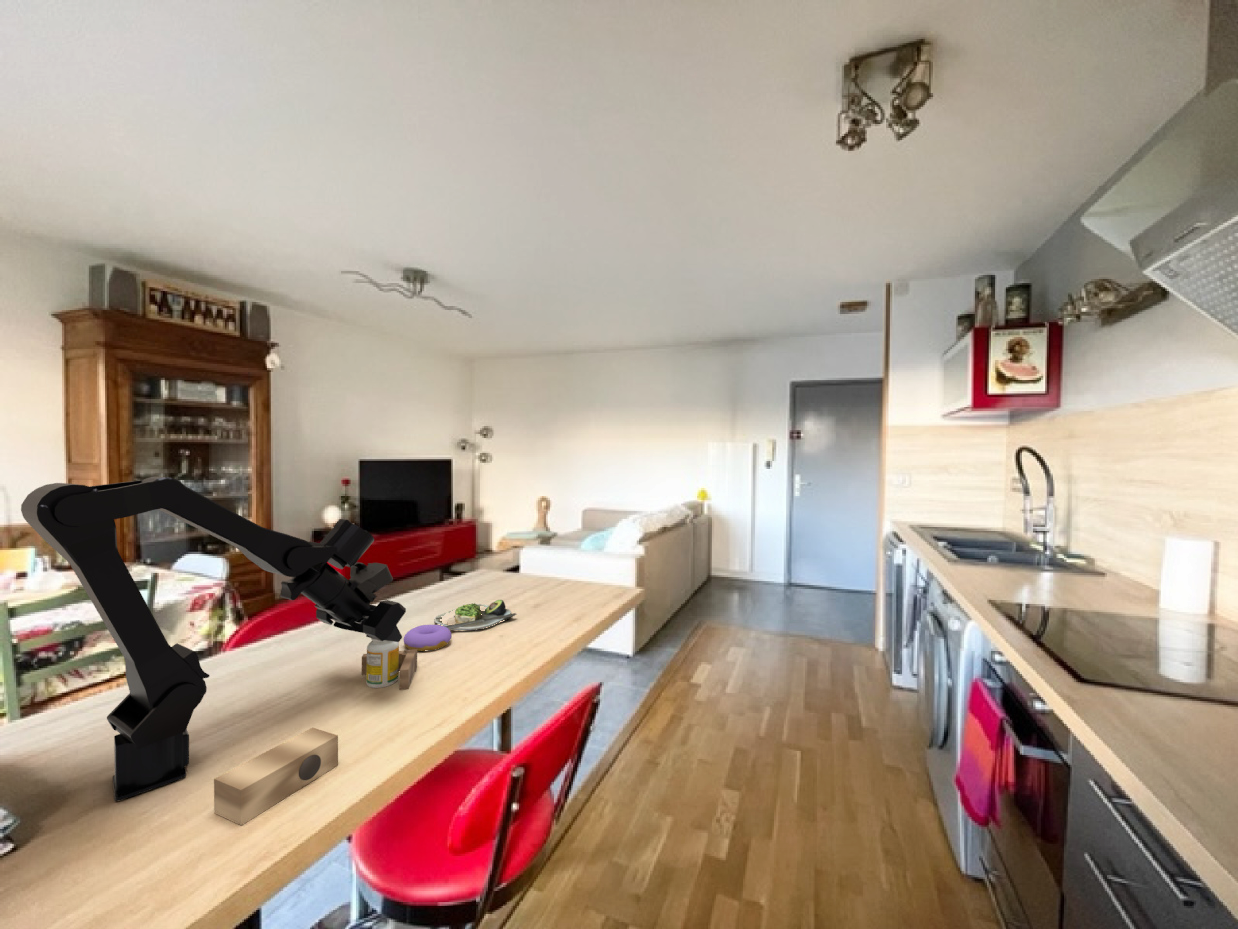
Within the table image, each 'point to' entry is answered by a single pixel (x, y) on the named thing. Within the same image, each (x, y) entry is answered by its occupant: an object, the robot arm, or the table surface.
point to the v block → (401, 666)
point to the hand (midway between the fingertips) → (389, 636)
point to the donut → (427, 637)
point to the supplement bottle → (382, 663)
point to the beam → (274, 775)
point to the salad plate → (477, 616)
